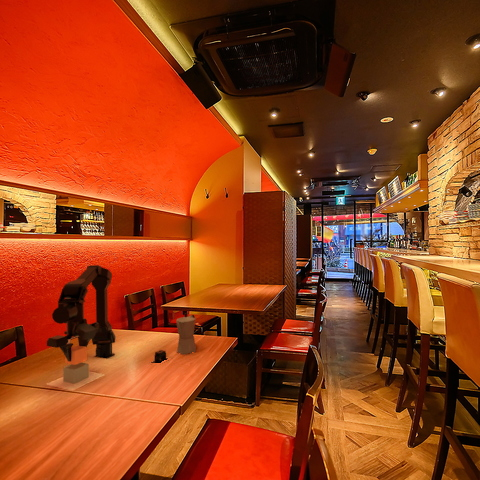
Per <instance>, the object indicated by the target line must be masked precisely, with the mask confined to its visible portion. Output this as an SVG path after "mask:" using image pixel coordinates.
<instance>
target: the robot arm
mask: <svg viewBox="0 0 480 480" xmlns="http://www.w3.org/2000/svg"><path fill="white" fill-rule="evenodd" d="M112 278H113V273H112V272H111V271H110V269H108V268H105V267H102V266H101V265H99V264H98V265H97V264H95V265H93V264H91V265H88V266H87V267H86V269H85V270H84V271H83V272H82V273H81V274H80V275H79V276H78V277H77V278H76V279H74V280H70V281H68V282H67V283H65V284H64V286H63V287H62V288H61V291H60V295H59V298H58V301H57V303H58V304H57V307H56V308H55V309H54V310H53V312H52V314H51V317H52V319H53V322H55V323H57V324H59V325H62V324H66V330H65V331H64V335H53V336H50V337H48V338H47V339H46V347H50V348H57V349H58V348H60V350H61V352H62V353H63V355H64V356H66V358H67V360H68V361H69V362H70V361H71V347H74V346H73V345H74V343H72V342H71V341H72V340H74V339H77V342H78V346H85V347H88V345H89V342H90V341H91V342H92V345H93V346H94V345H95V347H96V348H95V355H94V357H97V358H101V359H109V358H111V357H113V356H115V355H116V354H115V352H113V344H115V343H116V339H117V338H116V334H115V333H114V331H113V327H112V325H111V323H110V321H109V316H108V315H109V314H108V289H109V286H110V285H111V284H112ZM90 285H91V286H92V287H93V289H94V290H95V322H92V323H88V320H87V318H85V313H84V311H85V310H84V309H85V307H84V306H85V305H84V303H86V300H85V299H86V296H87V293H88V287H89V286H90Z"/></svg>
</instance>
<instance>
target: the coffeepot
mask: <svg viewBox="0 0 480 480" xmlns="http://www.w3.org/2000/svg"><path fill="white" fill-rule="evenodd" d="M175 322H176V328H177V332H178V333H177V334H178V341H177V342H178V343H177V351H176V353H177V352H178V354H179V353H181V354H180V355H189V354H188V353H191V354H193V353H192V352H194V353H196V351H197V347H196V342H195V336H194V334H195V325H196V316H195V315H194V314H191V315H189V316H188V312H184V316H183V317H179V318H177V319H176V321H175Z"/></svg>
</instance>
